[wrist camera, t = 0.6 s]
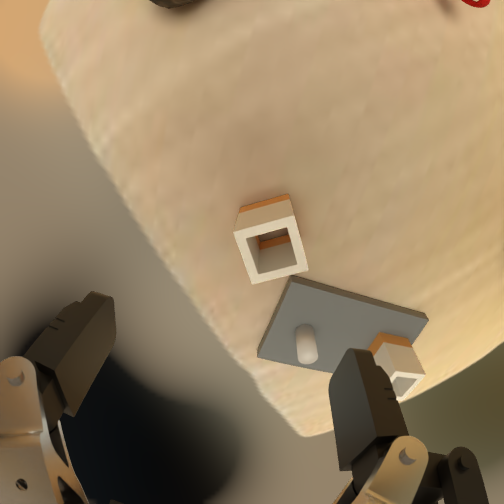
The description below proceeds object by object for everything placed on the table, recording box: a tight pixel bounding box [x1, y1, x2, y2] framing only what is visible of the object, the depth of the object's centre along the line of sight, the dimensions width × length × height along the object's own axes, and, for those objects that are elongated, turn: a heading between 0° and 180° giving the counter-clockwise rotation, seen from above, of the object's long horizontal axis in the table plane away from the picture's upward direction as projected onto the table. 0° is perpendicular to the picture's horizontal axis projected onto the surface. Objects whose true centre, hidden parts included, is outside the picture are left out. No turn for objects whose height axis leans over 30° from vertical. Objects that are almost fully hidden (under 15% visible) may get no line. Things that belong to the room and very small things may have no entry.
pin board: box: [257, 275, 429, 401], centre depth 32 cm, size 20×12×8 cm, turn 73°
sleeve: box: [233, 194, 309, 285], centre depth 27 cm, size 5×5×7 cm
